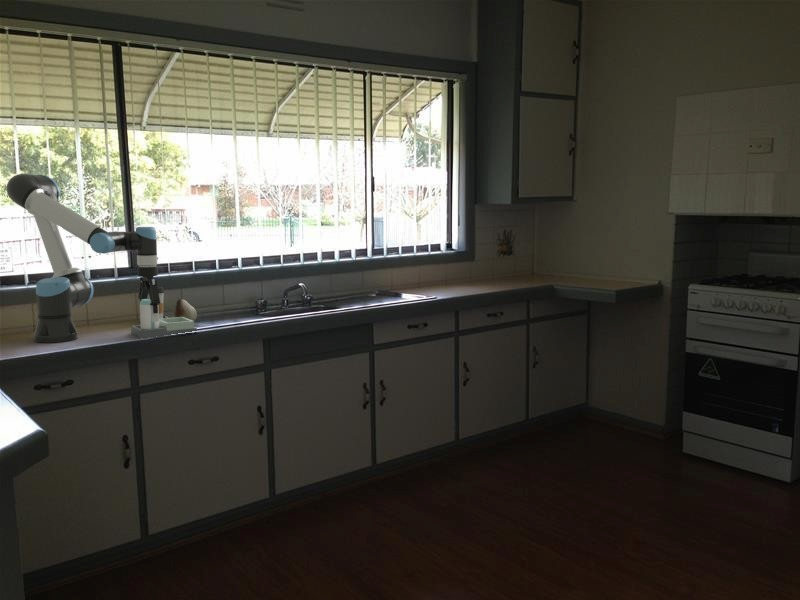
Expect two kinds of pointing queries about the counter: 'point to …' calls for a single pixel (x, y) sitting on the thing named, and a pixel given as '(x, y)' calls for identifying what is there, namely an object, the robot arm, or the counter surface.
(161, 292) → the coffee cup
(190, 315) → the fruit
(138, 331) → the grey tray
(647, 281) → the counter surface
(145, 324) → the can
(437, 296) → the counter surface
